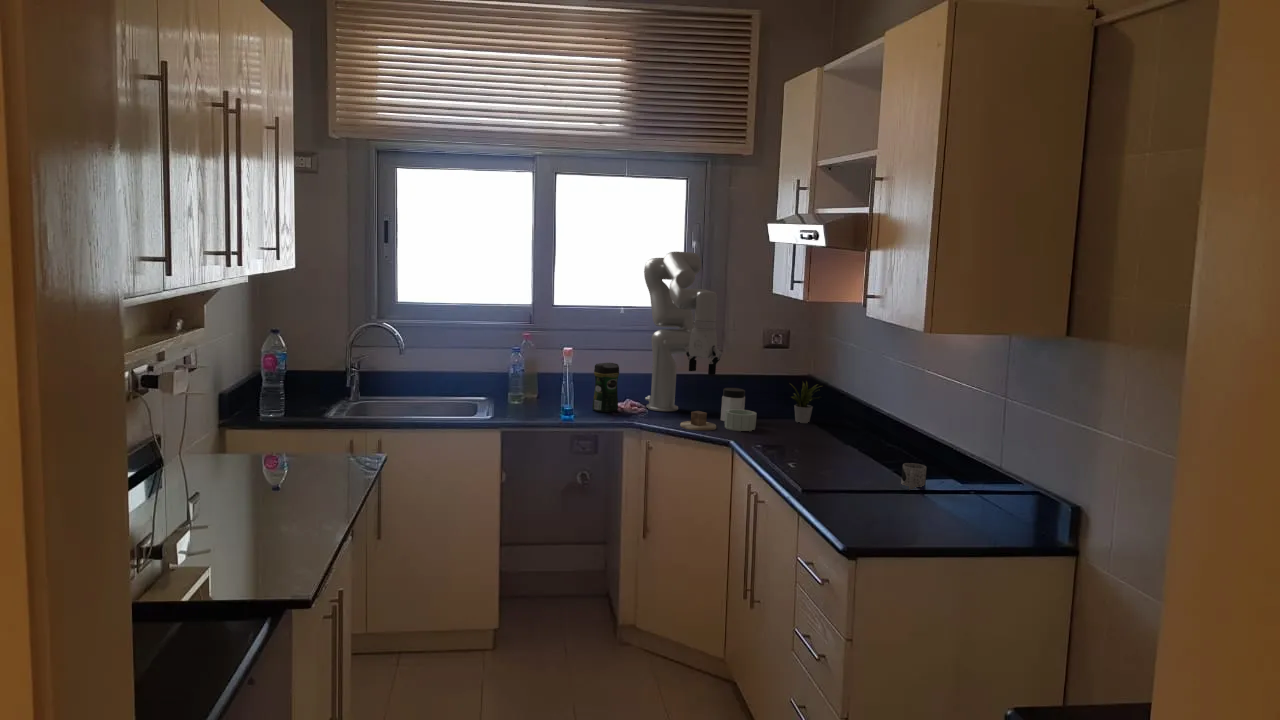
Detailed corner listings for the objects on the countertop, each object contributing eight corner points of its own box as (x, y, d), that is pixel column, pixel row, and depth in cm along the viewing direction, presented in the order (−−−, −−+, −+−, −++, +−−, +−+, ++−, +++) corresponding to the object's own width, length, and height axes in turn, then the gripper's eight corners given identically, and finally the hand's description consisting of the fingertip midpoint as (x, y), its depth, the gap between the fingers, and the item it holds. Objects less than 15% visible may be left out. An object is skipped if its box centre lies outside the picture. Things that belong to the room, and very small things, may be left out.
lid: (672, 426, 357) (673, 410, 356) (697, 422, 366) (698, 407, 365) (698, 432, 348) (699, 417, 347) (723, 429, 356) (724, 413, 356)
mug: (902, 484, 289) (904, 462, 288) (925, 487, 286) (927, 465, 285) (898, 491, 279) (900, 468, 278) (922, 495, 277) (924, 472, 276)
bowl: (718, 427, 358) (719, 410, 357) (738, 424, 366) (739, 408, 365) (741, 432, 350) (742, 416, 349) (761, 429, 358) (762, 413, 357)
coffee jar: (608, 407, 385) (610, 360, 382) (621, 411, 379) (623, 363, 376) (588, 409, 379) (590, 361, 376) (601, 413, 373) (603, 364, 370)
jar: (748, 422, 371) (750, 390, 370) (732, 423, 366) (734, 392, 364) (731, 417, 378) (733, 387, 376) (716, 419, 373) (718, 388, 371)
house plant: (830, 425, 372) (834, 383, 370) (798, 426, 368) (801, 383, 365) (811, 418, 386) (814, 377, 383) (780, 419, 381) (783, 377, 379)
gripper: (680, 323, 356) (677, 370, 358) (715, 328, 343) (712, 376, 345) (694, 322, 361) (692, 369, 363) (729, 327, 348) (726, 375, 350)
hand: (701, 372), depth 354 cm, fingers open, 9 cm apart
